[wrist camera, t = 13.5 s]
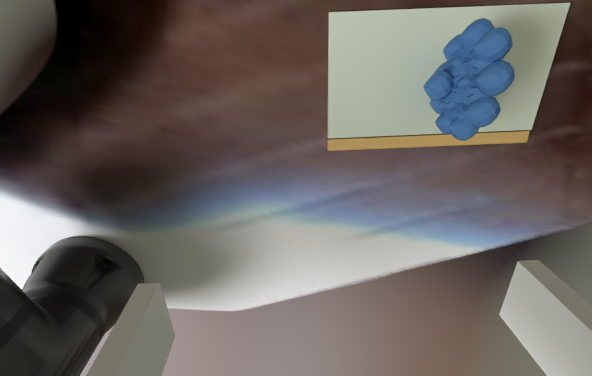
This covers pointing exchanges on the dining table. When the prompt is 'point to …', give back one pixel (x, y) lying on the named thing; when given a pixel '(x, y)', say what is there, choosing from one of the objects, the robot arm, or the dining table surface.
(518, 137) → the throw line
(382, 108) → the mat
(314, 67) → the dining table surface
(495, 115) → the grapes
